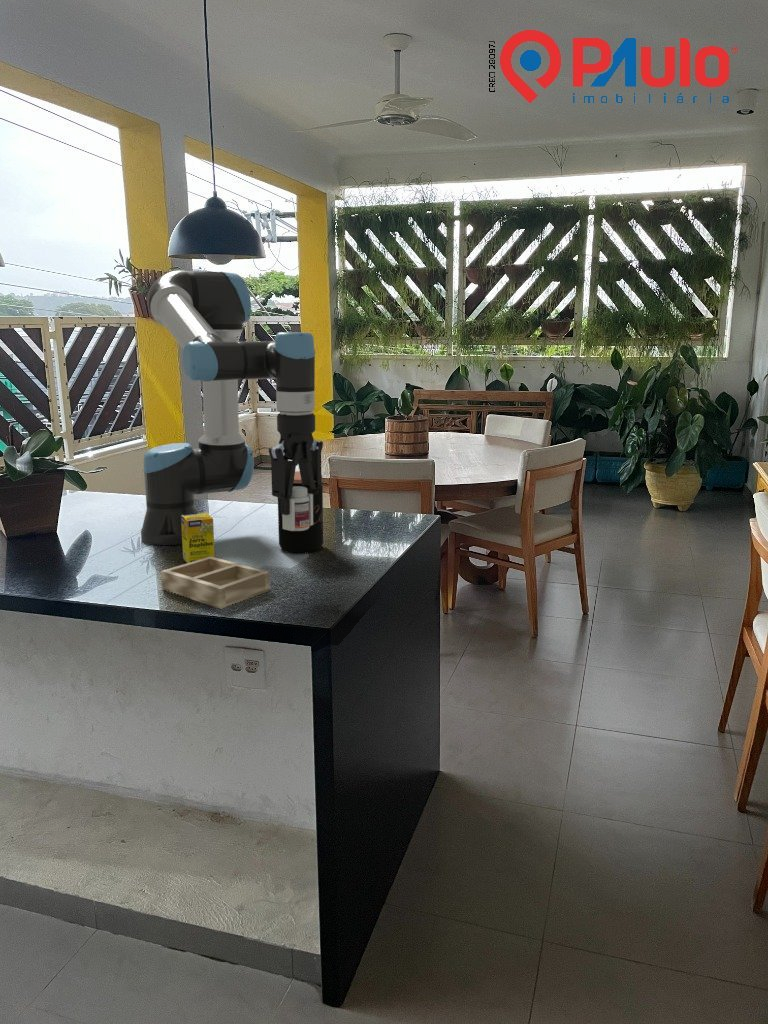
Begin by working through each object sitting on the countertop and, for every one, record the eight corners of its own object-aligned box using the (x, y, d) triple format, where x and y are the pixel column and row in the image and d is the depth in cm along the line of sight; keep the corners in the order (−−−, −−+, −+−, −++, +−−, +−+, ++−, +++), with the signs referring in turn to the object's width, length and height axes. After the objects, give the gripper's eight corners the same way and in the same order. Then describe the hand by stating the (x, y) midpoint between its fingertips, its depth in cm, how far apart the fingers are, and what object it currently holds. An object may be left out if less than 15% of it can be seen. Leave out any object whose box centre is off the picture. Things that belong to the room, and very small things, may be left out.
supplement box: (189, 568, 168) (186, 520, 166) (182, 561, 173) (180, 514, 171) (215, 565, 171) (213, 517, 168) (208, 557, 176) (206, 512, 174)
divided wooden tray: (162, 589, 155) (161, 571, 154) (211, 573, 165) (210, 556, 164) (221, 608, 144) (220, 588, 144) (269, 590, 155) (269, 572, 154)
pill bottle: (286, 525, 158) (285, 485, 156) (309, 525, 158) (309, 485, 156) (285, 531, 153) (284, 490, 151) (309, 531, 153) (309, 490, 152)
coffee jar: (316, 555, 178) (315, 480, 174) (272, 553, 180) (270, 478, 176) (328, 543, 188) (327, 472, 184) (287, 540, 191) (285, 470, 186)
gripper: (278, 418, 141) (280, 539, 146) (339, 410, 155) (340, 521, 160) (249, 415, 145) (253, 532, 151) (311, 407, 159) (313, 515, 165)
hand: (298, 526), depth 155 cm, fingers closed on pill bottle, 5 cm apart
